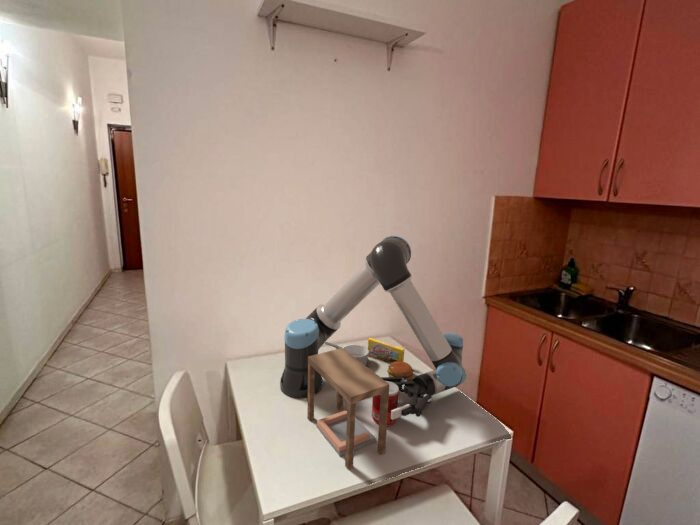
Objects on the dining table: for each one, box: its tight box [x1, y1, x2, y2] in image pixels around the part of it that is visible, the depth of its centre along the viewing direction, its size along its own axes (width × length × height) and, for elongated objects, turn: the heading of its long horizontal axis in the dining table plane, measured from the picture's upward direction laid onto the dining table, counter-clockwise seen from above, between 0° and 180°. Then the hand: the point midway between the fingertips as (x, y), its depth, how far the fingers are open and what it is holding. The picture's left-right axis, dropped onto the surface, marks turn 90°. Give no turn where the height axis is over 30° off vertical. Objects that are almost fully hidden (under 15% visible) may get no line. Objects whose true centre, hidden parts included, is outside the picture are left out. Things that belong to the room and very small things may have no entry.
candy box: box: [367, 337, 405, 365], centre depth 150 cm, size 16×2×8 cm, turn 55°
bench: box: [306, 348, 389, 470], centre depth 105 cm, size 12×24×21 cm, turn 32°
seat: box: [315, 409, 377, 457], centre depth 107 cm, size 12×14×2 cm
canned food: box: [371, 381, 400, 426], centre depth 114 cm, size 8×8×11 cm
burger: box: [386, 361, 414, 381], centre depth 140 cm, size 10×9×5 cm
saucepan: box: [324, 341, 369, 366], centre depth 151 cm, size 12×20×6 cm, turn 61°
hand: (377, 403), depth 112 cm, fingers open, 13 cm apart
